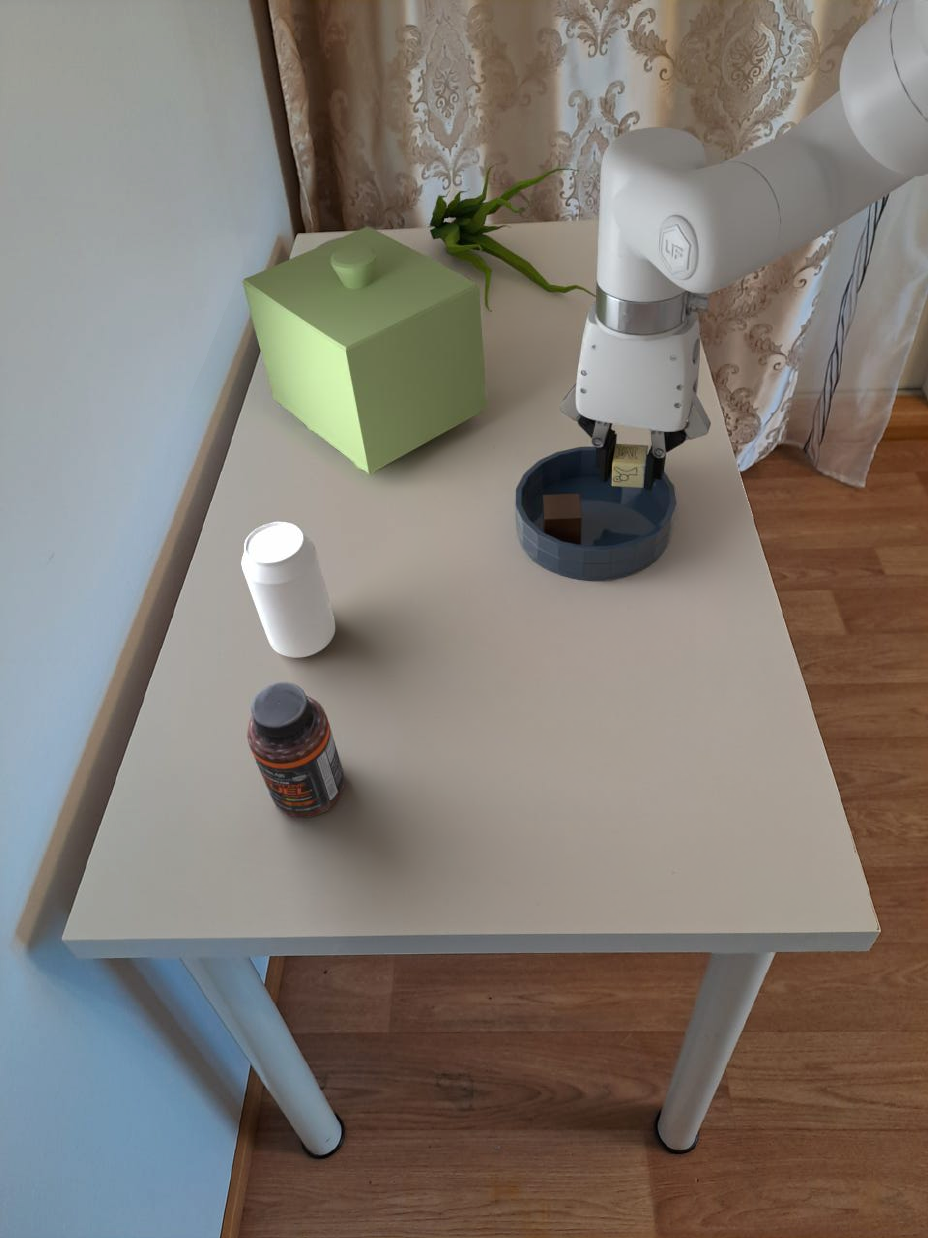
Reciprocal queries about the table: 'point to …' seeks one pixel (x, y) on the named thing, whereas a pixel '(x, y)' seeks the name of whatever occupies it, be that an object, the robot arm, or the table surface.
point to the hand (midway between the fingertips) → (628, 476)
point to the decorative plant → (471, 226)
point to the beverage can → (288, 589)
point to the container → (370, 345)
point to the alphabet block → (629, 465)
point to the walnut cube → (563, 517)
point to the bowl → (594, 519)
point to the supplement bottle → (295, 750)
